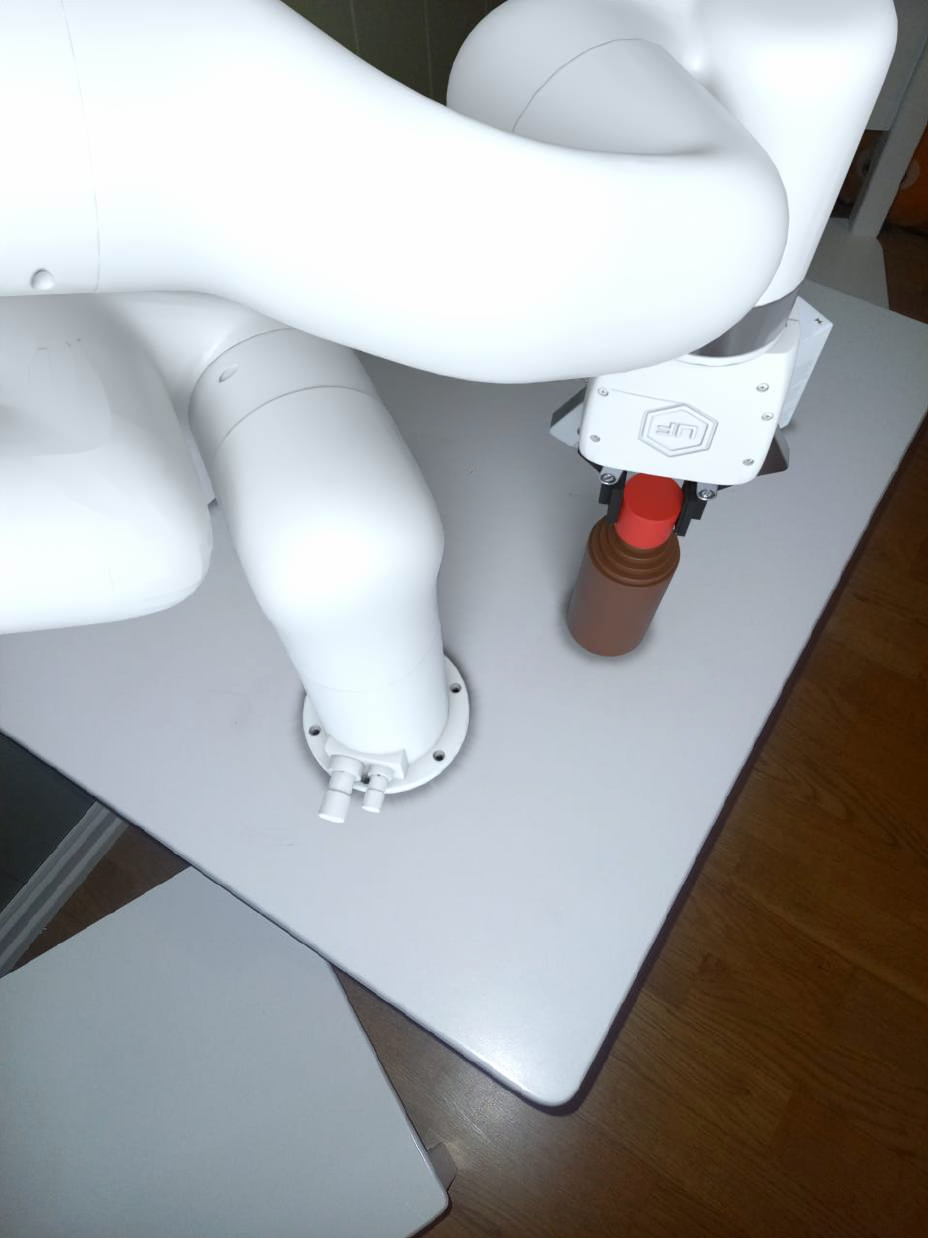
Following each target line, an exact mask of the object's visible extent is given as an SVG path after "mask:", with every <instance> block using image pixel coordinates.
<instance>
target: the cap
mask: <svg viewBox="0 0 928 1238" xmlns="http://www.w3.org/2000/svg"><path fill="white" fill-rule="evenodd" d="M681 488H682V487H681V486H680V484H679V483H678V482H677V481H676V480H675V479H674V478H670V477H663V476H657V475H651V474H645V473H639V472H637V473H636V474H634V475H633V476H631V477H630V478H629V479H628V480H626V483H625V489H624V494H623V498H622V502H621V506H620V511H619V515H618V519H617V523H614V525H615V529H616V531H617V533H618V535H619V536H620V537H621V538H622V539H623V540H624V541H625V542H626V543H628V544H630V545H632V546H635V547H638V548H654V547H657V546H659V545H661V544H663V543H664V542H665V541H666V540H667V539H668V538H669V536H670V534H671V532H672V530H673V529H674V527H675V523H676V521H677V518H678V516H679V514H680V511H681V509H682V504H683V492H682V490H681Z"/></svg>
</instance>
